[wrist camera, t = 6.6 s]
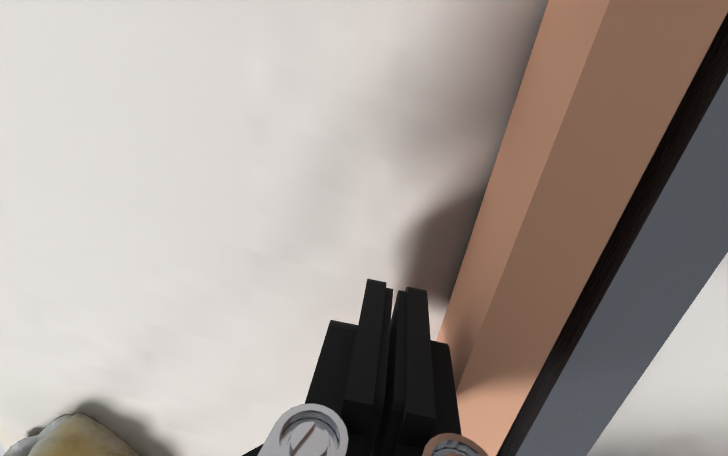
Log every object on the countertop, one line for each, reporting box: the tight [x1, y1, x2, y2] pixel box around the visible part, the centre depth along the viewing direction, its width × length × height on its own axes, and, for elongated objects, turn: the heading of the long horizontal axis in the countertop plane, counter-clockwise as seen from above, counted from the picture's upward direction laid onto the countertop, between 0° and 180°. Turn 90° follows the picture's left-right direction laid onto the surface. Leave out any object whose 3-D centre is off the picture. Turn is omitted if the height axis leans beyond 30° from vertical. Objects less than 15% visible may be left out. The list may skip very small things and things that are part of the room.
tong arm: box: [436, 0, 728, 456], centre depth 9 cm, size 18×2×3 cm, turn 171°
